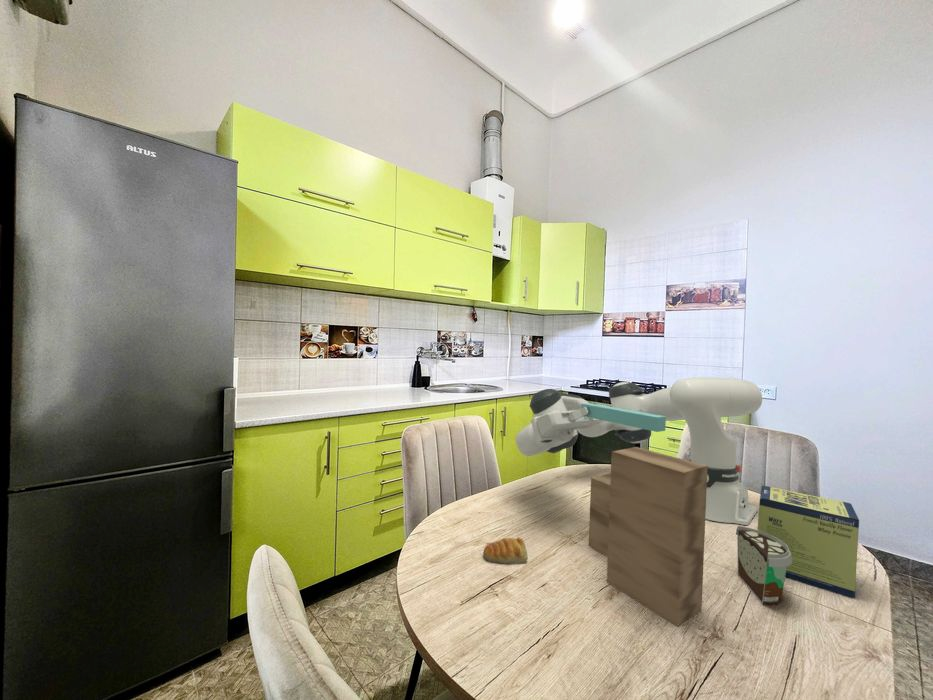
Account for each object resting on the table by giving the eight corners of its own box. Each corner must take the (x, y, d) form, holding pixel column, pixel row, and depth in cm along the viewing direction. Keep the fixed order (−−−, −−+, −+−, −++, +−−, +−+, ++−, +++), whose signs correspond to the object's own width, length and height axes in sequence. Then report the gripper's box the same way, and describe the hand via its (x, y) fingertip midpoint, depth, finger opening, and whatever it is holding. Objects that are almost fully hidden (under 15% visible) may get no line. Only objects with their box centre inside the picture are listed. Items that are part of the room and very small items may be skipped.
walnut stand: (615, 535, 95) (619, 431, 95) (727, 591, 74) (733, 458, 74) (564, 555, 85) (568, 439, 85) (677, 626, 64) (683, 472, 64)
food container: (806, 616, 68) (809, 560, 68) (767, 610, 69) (769, 555, 69) (767, 575, 80) (769, 528, 80) (734, 571, 81) (736, 524, 81)
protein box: (857, 600, 73) (861, 519, 73) (755, 568, 83) (758, 496, 83) (848, 575, 81) (852, 502, 81) (756, 549, 91) (759, 484, 91)
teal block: (588, 414, 98) (589, 403, 98) (665, 430, 81) (665, 416, 81) (580, 415, 96) (581, 403, 96) (657, 431, 79) (657, 417, 79)
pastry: (487, 568, 80) (488, 549, 80) (479, 551, 87) (480, 534, 87) (530, 564, 82) (530, 546, 82) (519, 547, 89) (519, 531, 89)
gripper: (587, 435, 109) (625, 418, 99) (533, 442, 98) (570, 425, 88) (579, 414, 112) (615, 395, 102) (526, 419, 101) (560, 399, 91)
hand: (594, 409), depth 95 cm, fingers closed on teal block, 3 cm apart
